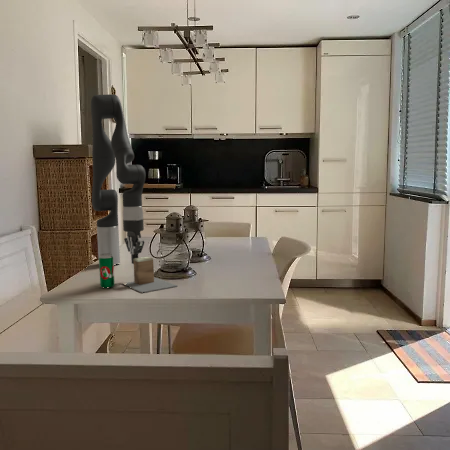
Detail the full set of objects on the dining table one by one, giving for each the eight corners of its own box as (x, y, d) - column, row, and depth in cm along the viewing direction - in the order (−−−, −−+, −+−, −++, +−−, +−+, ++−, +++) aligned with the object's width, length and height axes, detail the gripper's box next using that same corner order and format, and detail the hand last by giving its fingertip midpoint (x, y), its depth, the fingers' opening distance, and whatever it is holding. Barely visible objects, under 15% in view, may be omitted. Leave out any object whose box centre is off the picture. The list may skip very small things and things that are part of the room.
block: (134, 282, 177) (133, 258, 176) (149, 280, 181) (148, 256, 179) (139, 284, 174) (138, 260, 173) (154, 282, 177) (153, 258, 176)
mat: (122, 284, 176) (122, 283, 176) (156, 278, 184) (156, 277, 184) (141, 293, 163) (141, 292, 163) (177, 286, 172) (177, 285, 172)
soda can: (108, 284, 176) (107, 252, 175) (117, 286, 173) (116, 254, 172) (97, 287, 172) (95, 254, 171) (106, 289, 169) (104, 256, 168)
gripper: (116, 217, 183) (118, 262, 185) (131, 220, 172) (133, 267, 174) (134, 216, 187) (136, 260, 189) (150, 218, 177) (152, 265, 179)
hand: (135, 263), depth 182 cm, fingers closed
